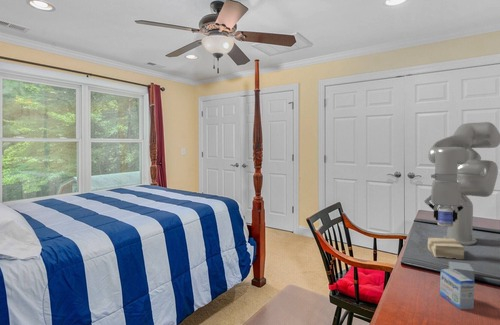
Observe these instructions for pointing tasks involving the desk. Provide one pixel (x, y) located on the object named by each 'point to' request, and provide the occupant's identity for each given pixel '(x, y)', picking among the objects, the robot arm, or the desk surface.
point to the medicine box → (457, 289)
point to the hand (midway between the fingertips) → (445, 219)
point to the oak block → (445, 248)
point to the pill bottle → (445, 216)
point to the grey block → (462, 269)
